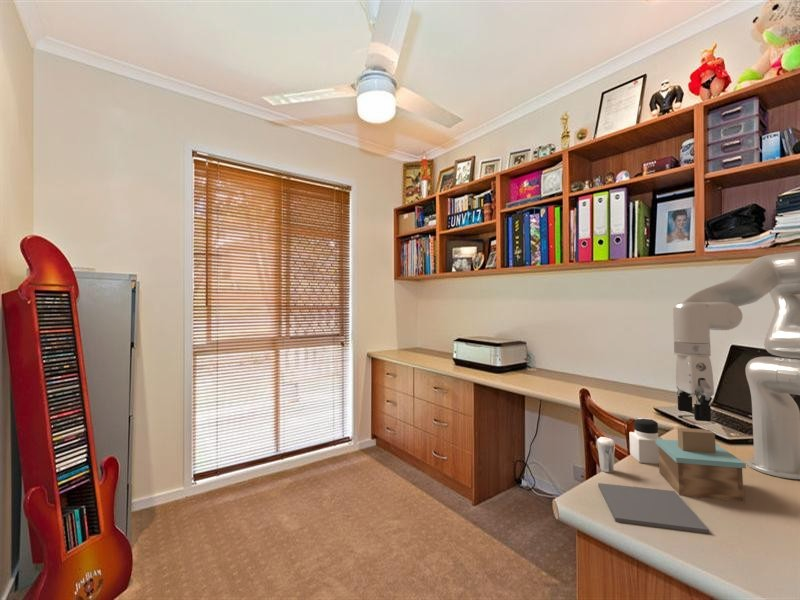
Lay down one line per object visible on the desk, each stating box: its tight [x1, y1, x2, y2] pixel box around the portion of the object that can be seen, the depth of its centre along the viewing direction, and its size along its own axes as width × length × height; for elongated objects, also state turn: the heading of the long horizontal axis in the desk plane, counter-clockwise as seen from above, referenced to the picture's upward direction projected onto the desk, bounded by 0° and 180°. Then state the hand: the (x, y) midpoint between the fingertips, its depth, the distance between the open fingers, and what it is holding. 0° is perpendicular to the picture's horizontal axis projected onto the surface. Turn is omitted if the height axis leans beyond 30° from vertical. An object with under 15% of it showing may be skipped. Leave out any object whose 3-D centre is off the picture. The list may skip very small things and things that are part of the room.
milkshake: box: [594, 435, 616, 474], centre depth 107 cm, size 4×5×10 cm
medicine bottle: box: [628, 417, 663, 465], centre depth 114 cm, size 7×7×12 cm
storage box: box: [658, 446, 745, 503], centre depth 97 cm, size 13×13×8 cm
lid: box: [656, 427, 747, 469], centre depth 97 cm, size 14×14×7 cm
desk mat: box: [597, 482, 710, 535], centre depth 87 cm, size 17×17×1 cm
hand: (693, 415), depth 97 cm, fingers open, 9 cm apart
